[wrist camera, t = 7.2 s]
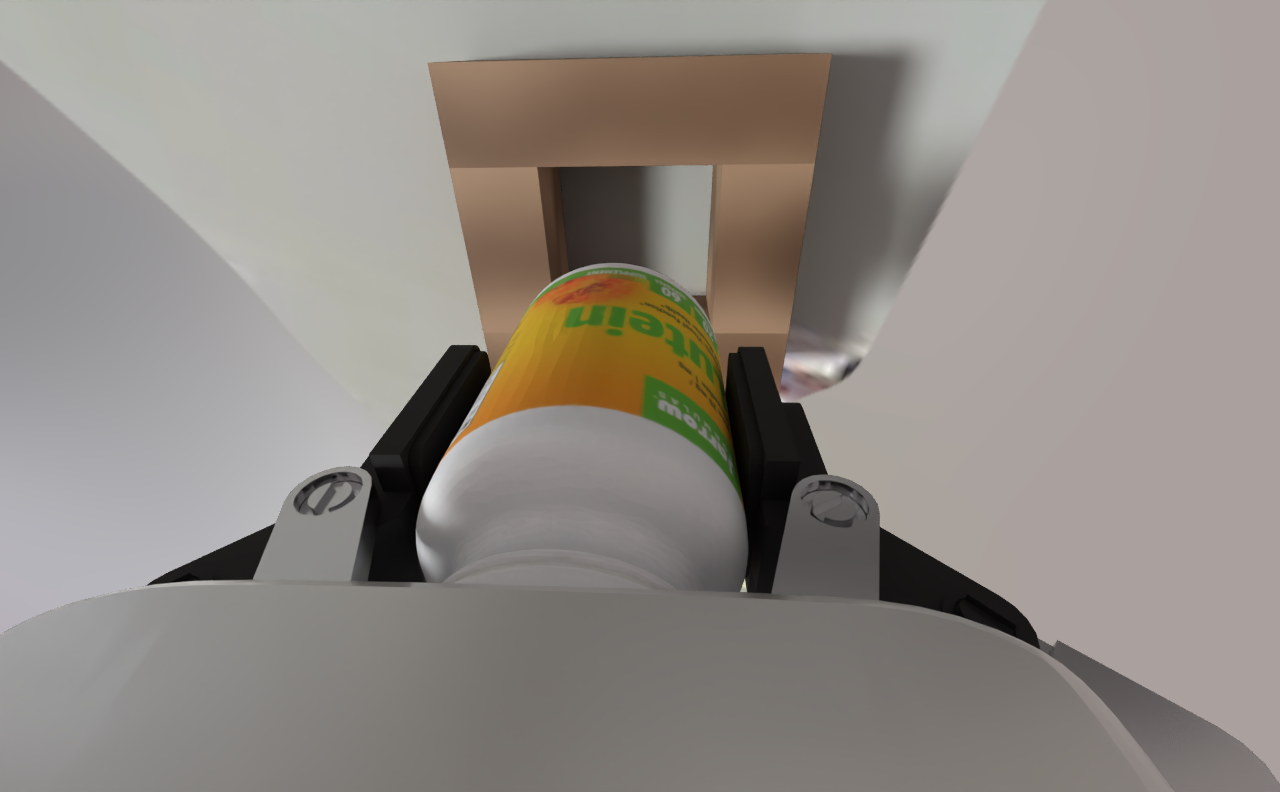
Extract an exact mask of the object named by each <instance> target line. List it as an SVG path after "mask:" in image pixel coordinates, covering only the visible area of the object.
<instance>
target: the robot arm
mask: <svg viewBox="0 0 1280 792" xmlns="http://www.w3.org/2000/svg"><path fill="white" fill-rule="evenodd" d="M491 373H492V372H491V367H490V362H489V358H488V354H487V353H486V352H485V351H480V349H479V347H478V346H477V345H451V346H450V347H449V348H448V350H447V351H446V352H445V354H444V355H443V356H442V358H441V359H440V360H439V362H438V363H437V364H436V366H435V367H434V368H433V370H432V371H431V372H430V374H429V375H428V376H427V378H426V379H425V380H424V382H423V383H422V384H421V386H420V387H419V388H418V390H417V391H416V392H415V394H414V395H413V396H412V398H411V399H410V400H409V402H408V403H407V404H406V406H405V407H404V408H403V410H402V411H401V412H400V414H399V415H398V416H397V418H396V419H395V420H394V422H393V423H392V424H391V426H390V427H389V428H388V430H387V431H386V432H385V434H384V435H383V437H382V438H381V439H380V440H379V442H378V443H377V444H376V446H375V447H374V448H373V450H372V451H371V452H370V454H369V457H368V458H367V459H366V461H365V462H364V463H363V465H362V466H361V467H360V468H359V467H351V466H346V467H336V468H332V469H329V470H325V471H322V472H320V473H318V474H315V475H313V476H311V477H309V478H307V479H306V480H304V481H303V482H301V483H300V484H298V485H297V486H296V487H295V488H294V489H293V490H292V491H291V492H290V493H289V495H288V497H287V498H286V500H285V501H284V504H283V506H282V509H281V511H280V514H279V516H278V519H277V521H276V523H275V524H273V525H271V526H268V527H266V528H264V529H262V530H260V531H257V532H255V533H253V534H251V535H249V536H247V537H244V538H242V539H240V540H238V541H236V542H233V543H231V544H229V545H227V546H225V547H223V548H220V549H218V550H216V551H214V552H212V553H210V554H207V555H205V556H203V557H201V558H199V559H197V560H194V561H192V562H190V563H188V564H186V565H183V566H181V567H179V568H177V569H175V570H172V571H170V572H168V573H166V574H164V575H163V576H161V577H159V578H157V579H155V580H153V581H152V582H150V583H149V584H148V585H147V586H143V587H137V588H131V589H125V590H119V591H115V592H111V593H108V594H104V595H100V596H96V597H92V598H88V599H85V600H81V601H77V602H73V603H70V604H67V605H64V606H61V607H59V608H56V609H53V610H50V611H47V612H45V613H43V614H40V615H37V616H35V617H32V618H30V619H28V620H26V621H24V622H22V623H20V624H18V625H16V626H14V627H12V628H10V629H9V630H7V631H5V632H4V633H2V634H1V635H0V792H1280V784H1279V782H1278V781H1277V780H1276V778H1275V777H1274V775H1273V774H1272V773H1271V771H1270V770H1269V768H1268V767H1267V766H1266V764H1265V763H1264V762H1263V761H1261V760H1260V759H1259V758H1258V757H1257V756H1256V755H1255V754H1254V753H1253V752H1252V751H1251V750H1250V749H1249V748H1248V747H1246V746H1245V745H1244V744H1243V743H1242V742H1240V741H1239V740H1237V739H1236V738H1234V737H1233V736H1231V735H1229V734H1228V733H1227V732H1225V731H1224V730H1222V729H1221V728H1219V727H1217V726H1216V725H1214V724H1212V723H1210V722H1208V721H1206V720H1204V719H1203V718H1201V717H1199V716H1197V715H1195V714H1193V713H1191V712H1190V711H1188V710H1186V709H1184V708H1182V707H1180V706H1179V705H1177V704H1175V703H1173V702H1171V701H1169V700H1167V699H1166V698H1164V697H1162V696H1160V695H1158V694H1156V693H1155V692H1153V691H1151V690H1149V689H1147V688H1145V687H1143V686H1142V685H1139V684H1138V683H1136V682H1134V681H1132V680H1130V679H1129V678H1127V677H1125V676H1123V675H1121V674H1119V673H1118V672H1116V671H1114V670H1112V669H1110V668H1108V667H1106V666H1105V665H1103V664H1101V663H1099V662H1097V661H1095V660H1093V659H1092V658H1090V657H1088V656H1086V655H1084V654H1082V653H1081V652H1079V651H1077V650H1075V649H1073V648H1071V647H1069V646H1068V645H1066V644H1064V643H1062V642H1060V641H1058V640H1057V641H1056V643H1055V644H1054V645H1053V646H1051V645H1049V644H1047V643H1046V642H1044V641H1042V640H1040V639H1038V638H1037V635H1036V632H1035V631H1034V629H1033V627H1032V626H1031V624H1030V623H1029V621H1028V620H1027V618H1026V617H1025V616H1023V614H1022V613H1020V611H1019V610H1018V609H1017V608H1016V607H1015V606H1013V605H1012V604H1010V603H1009V602H1008V601H1006V600H1005V599H1003V598H1002V597H1000V596H999V595H997V594H995V593H994V592H992V591H990V590H988V589H987V588H985V587H983V586H981V585H980V584H978V583H976V582H975V581H973V580H971V579H969V578H968V577H966V576H964V575H962V574H961V573H959V572H957V571H955V570H954V569H952V568H950V567H949V566H947V565H945V564H943V563H942V562H940V561H938V560H936V559H935V558H933V557H931V556H929V555H928V554H926V553H924V552H923V551H921V550H919V549H917V548H916V547H914V546H912V545H910V544H909V543H907V542H905V541H903V540H902V539H900V538H898V537H896V536H895V535H893V534H891V533H890V532H888V531H886V530H884V529H882V528H881V527H880V513H879V508H878V504H877V503H876V501H875V499H874V498H873V496H872V495H871V494H870V493H869V492H868V491H867V490H865V489H864V488H863V487H862V486H860V485H858V484H856V483H855V482H853V481H851V480H848V479H845V478H842V477H839V476H833V475H828V474H827V471H826V469H825V466H824V463H823V460H822V458H821V455H820V453H819V450H818V447H817V445H816V442H815V439H814V437H813V434H812V431H811V429H810V426H809V423H808V421H807V418H806V415H805V413H804V410H803V408H802V406H801V404H800V403H782V402H781V399H780V396H779V393H778V389H777V386H776V383H775V380H774V377H773V374H772V371H771V368H770V365H769V362H768V358H767V355H766V352H765V349H764V347H738V350H737V353H729V356H728V365H727V377H726V389H725V395H726V401H727V407H728V414H729V421H730V427H731V433H732V440H733V446H734V452H735V457H736V463H737V469H738V475H739V481H740V486H741V492H742V498H743V503H744V509H745V515H746V524H747V535H748V559H747V568H746V574H745V581H746V588H747V592H718V591H689V590H660V589H630V588H599V587H565V586H531V585H495V584H459V583H427V582H426V580H425V577H424V574H423V571H422V569H421V566H420V562H419V559H418V554H417V548H416V523H417V517H418V512H419V509H420V505H421V502H422V499H423V496H424V494H425V492H426V489H427V487H428V485H429V483H430V481H431V479H432V476H433V475H434V473H435V471H436V469H437V467H438V465H439V463H440V461H441V460H442V458H443V456H444V455H445V453H446V451H447V450H448V448H449V446H450V444H451V442H452V440H453V439H454V438H455V436H456V434H457V432H458V431H459V429H460V427H461V426H462V424H463V422H464V420H465V419H466V417H467V415H468V414H469V412H470V410H471V408H472V406H473V405H474V403H475V401H476V399H477V398H478V396H479V394H480V392H481V390H482V389H483V387H484V385H485V383H486V382H487V380H488V378H489V376H490V375H491Z"/></svg>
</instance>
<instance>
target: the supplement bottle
mask: <svg viewBox="0 0 1280 792" xmlns="http://www.w3.org/2000/svg"><path fill="white" fill-rule="evenodd" d="M416 548H417V554H418V559H419V562H420V566H421V569H422V571H423V574H424V577H425V580H426V582H427V583H459V584H495V585H531V586H565V587H599V588H630V589H660V590H689V591H718V592H740V590H741V588H742V585H743V582H744V579H745V574H746V568H747V559H748V535H747V524H746V515H745V509H744V503H743V498H742V492H741V486H740V481H739V475H738V469H737V463H736V457H735V452H734V446H733V440H732V433H731V427H730V421H729V414H728V407H727V401H726V395H725V389H724V382H723V376H722V369H721V362H720V356H719V350H718V346H717V342H716V337H715V334H714V331H713V328H712V325H711V323H710V321H709V319H708V317H707V315H706V314H705V312H704V310H703V309H702V307H701V306H700V305H699V304H698V302H697V301H696V300H695V299H694V298H693V297H692V296H691V294H690V293H689V292H688V291H687V290H685V289H684V288H683V287H682V286H680V285H679V284H678V283H676V282H675V281H673V280H672V279H670V278H668V277H667V276H665V275H663V274H661V273H658V272H656V271H653V270H651V269H648V268H645V267H641V266H636V265H631V264H624V263H602V264H594V265H590V266H585V267H582V268H579V269H576V270H573V271H571V272H569V273H567V274H564V275H563V276H561V277H559V278H558V279H556V280H554V281H553V282H552V283H550V284H549V285H548V286H547V287H546V288H545V289H543V290H542V292H541V293H540V294H539V295H538V296H537V297H536V298H535V300H534V301H533V302H532V304H531V305H530V307H529V308H528V310H527V311H526V313H525V314H524V316H523V318H522V319H521V321H520V323H519V325H518V326H517V328H516V330H515V332H514V334H513V335H512V337H511V339H510V341H509V342H508V344H507V346H506V348H505V350H504V352H503V353H502V355H501V357H500V359H499V360H498V362H497V364H496V366H495V368H494V369H493V371H492V373H491V375H490V376H489V378H488V380H487V382H486V383H485V385H484V387H483V389H482V390H481V392H480V394H479V396H478V398H477V399H476V401H475V403H474V405H473V406H472V408H471V410H470V412H469V414H468V415H467V417H466V419H465V420H464V422H463V424H462V426H461V427H460V429H459V431H458V432H457V434H456V436H455V438H454V439H453V440H452V442H451V444H450V446H449V448H448V450H447V451H446V453H445V455H444V456H443V458H442V460H441V461H440V463H439V465H438V467H437V469H436V471H435V473H434V475H433V476H432V479H431V481H430V483H429V485H428V487H427V489H426V492H425V494H424V496H423V499H422V502H421V505H420V509H419V512H418V517H417V523H416Z"/></svg>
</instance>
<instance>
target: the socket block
mask: <svg viewBox="0 0 1280 792" xmlns="http://www.w3.org/2000/svg"><path fill="white" fill-rule="evenodd" d="M831 57H832V54H820V53H789V54H744V55H700V56H655V57H611V58H566V59H522V60H477V61H452V62H433V63H428V67H429V72H430V77H431V82H432V87H433V91H434V96H435V101H436V106H437V111H438V115H439V120H440V125H441V130H442V135H443V139H444V144H445V149H446V154H447V159H448V164H449V168H450V173H451V178H452V183H453V188H454V192H455V197H456V202H457V207H458V212H459V216H460V221H461V226H462V231H463V236H464V241H465V245H466V250H467V255H468V260H469V265H470V269H471V274H472V279H473V284H474V289H475V293H476V298H477V303H478V308H479V313H480V317H481V322H482V327H483V332H484V337H485V342H486V346H487V351H488V356H489V361H490V366H491V370H492V371H493V369H494V368H495V366H496V364H497V362H498V360H499V359H500V357H501V355H502V353H503V352H504V350H505V348H506V346H507V344H508V342H509V341H510V339H511V337H512V335H513V334H514V332H515V330H516V328H517V326H518V325H519V323H520V321H521V319H522V318H523V316H524V314H525V313H526V311H527V310H528V308H529V307H530V305H531V304H532V302H533V301H534V300H535V298H536V297H537V296H538V295H539V294H540V293H541V292H542V290H543V289H545V288H546V287H547V286H548V285H549V284H550V283H552V282H553V281H554V280H556V279H558V278H559V277H561V276H563V275H564V274H567V273H569V266H568V256H567V246H566V235H565V225H564V215H563V205H562V195H561V185H560V175H559V167H584V166H665V165H713V177H712V195H711V213H710V231H709V250H708V268H707V286H706V296H692V297H693V298H694V299H695V300H696V301H697V302H698V304H699V305H700V306H701V307H702V309H703V310H704V312H705V314H706V315H707V317H708V319H709V321H710V323H711V325H712V328H713V331H714V334H715V337H716V342H717V346H718V350H719V356H720V362H721V369H722V376H723V382H724V389H726V377H727V365H728V356H729V353H737V350H738V347H764V349H765V352H766V355H767V358H768V362H769V365H770V368H771V371H772V374H773V377H774V380H775V383H776V386H777V389H778V393H779V390H780V384H781V378H782V371H783V365H784V358H785V352H786V345H787V339H788V333H789V326H790V320H791V313H792V307H793V301H794V294H795V288H796V281H797V275H798V268H799V262H800V256H801V249H802V243H803V236H804V230H805V224H806V217H807V211H808V204H809V198H810V192H811V185H812V179H813V172H814V166H815V159H816V153H817V147H818V140H819V134H820V127H821V121H822V115H823V108H824V102H825V95H826V89H827V83H828V76H829V70H830V63H831Z"/></svg>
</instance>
